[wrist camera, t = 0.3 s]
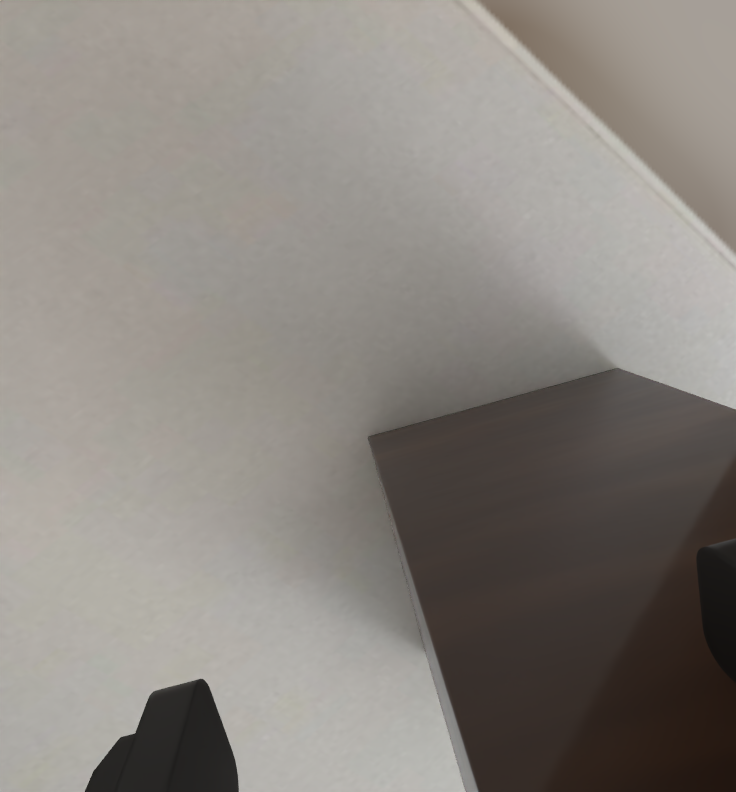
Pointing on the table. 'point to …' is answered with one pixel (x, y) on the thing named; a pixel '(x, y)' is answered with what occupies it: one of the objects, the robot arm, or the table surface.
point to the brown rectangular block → (571, 583)
